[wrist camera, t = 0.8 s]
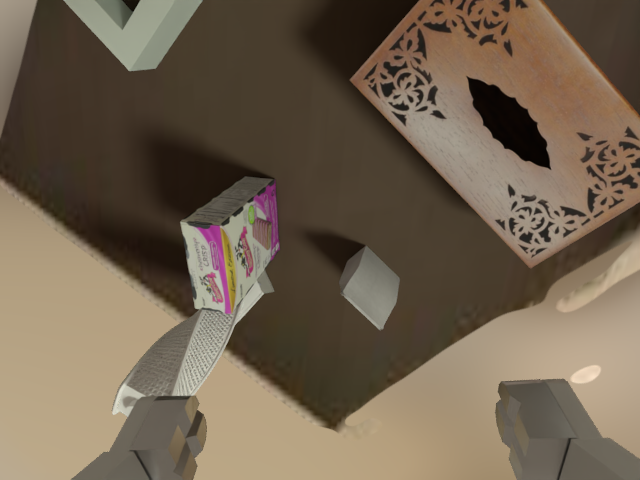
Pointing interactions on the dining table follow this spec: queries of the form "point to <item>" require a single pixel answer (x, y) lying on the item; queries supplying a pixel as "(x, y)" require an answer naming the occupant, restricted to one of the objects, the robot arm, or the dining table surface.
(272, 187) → the candy bar box
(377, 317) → the grey bevelled box
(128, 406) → the skyscraper
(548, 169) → the tissue box cover
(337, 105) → the dining table surface
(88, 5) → the socket block
